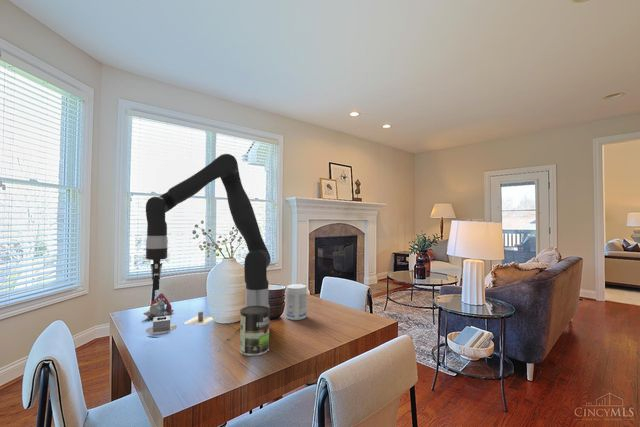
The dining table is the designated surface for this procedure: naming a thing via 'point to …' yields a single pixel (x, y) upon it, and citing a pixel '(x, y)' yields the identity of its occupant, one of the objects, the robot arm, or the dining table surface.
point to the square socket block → (161, 323)
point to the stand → (199, 319)
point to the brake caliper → (159, 308)
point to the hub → (150, 331)
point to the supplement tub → (296, 302)
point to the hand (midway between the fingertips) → (156, 287)
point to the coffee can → (254, 330)
